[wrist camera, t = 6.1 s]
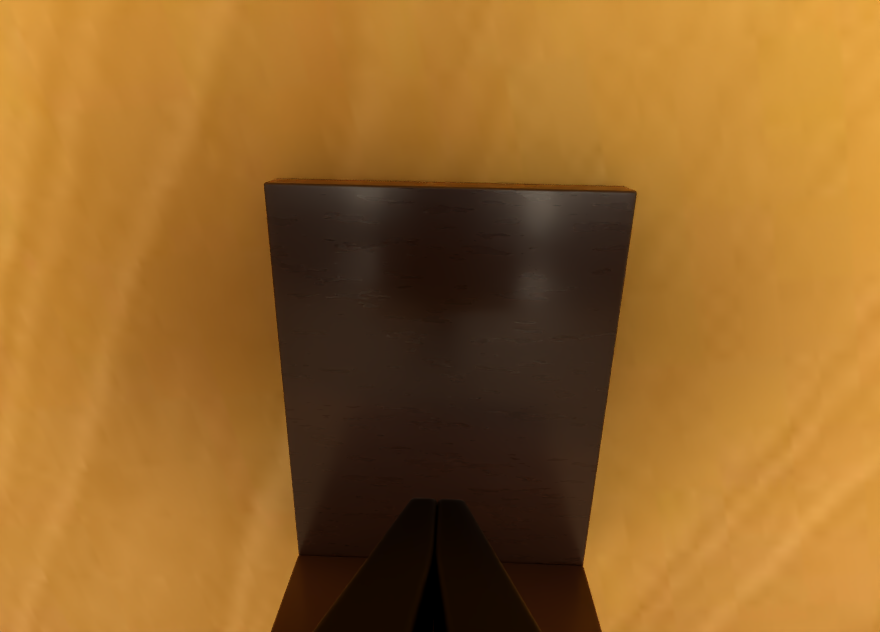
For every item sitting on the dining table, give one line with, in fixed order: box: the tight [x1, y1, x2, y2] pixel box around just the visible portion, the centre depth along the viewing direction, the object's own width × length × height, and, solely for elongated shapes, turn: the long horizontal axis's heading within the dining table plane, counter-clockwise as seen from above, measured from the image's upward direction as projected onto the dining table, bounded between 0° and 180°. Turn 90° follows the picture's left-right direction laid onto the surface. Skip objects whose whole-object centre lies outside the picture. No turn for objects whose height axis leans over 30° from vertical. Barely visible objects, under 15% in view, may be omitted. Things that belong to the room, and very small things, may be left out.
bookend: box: [264, 179, 637, 632], centre depth 11 cm, size 11×9×12 cm
